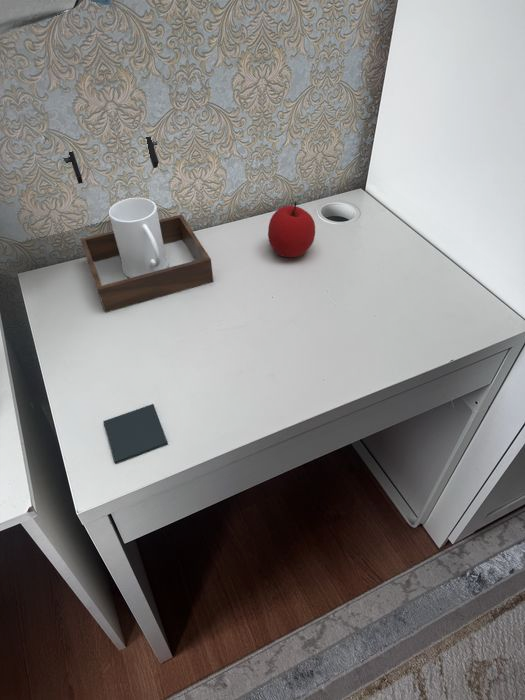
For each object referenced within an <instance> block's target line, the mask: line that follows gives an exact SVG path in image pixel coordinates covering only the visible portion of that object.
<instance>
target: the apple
mask: <svg viewBox="0 0 525 700" xmlns="http://www.w3.org/2000/svg"><path fill="white" fill-rule="evenodd" d="M315 236H316V224H315V220H314V218H313V217H312V215H311V214H310V213H309V212H308V211H306V210H305V209H304V208H301V207H300V206H297V202H296V201H294V205H287V206H286V205H285V206H283V207H280V208H278V209H277V210H276V211H275V212H274V213H273V214H272V216H271V218H270V219H269V224H268V231H267V238H268V242H269V244H270V246H271V248H272V249H273V250H274V251H275V253H277V254H278V255H279V256H281V257H284V258H298V257H300V256H302V255H304V254H305V253H306V252H307V251H308V250H309V249H310V248H311V247H312V245H313V243H314V241H315Z"/></svg>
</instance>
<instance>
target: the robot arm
mask: <svg viewBox="0 0 525 700" xmlns="http://www.w3.org/2000/svg"><path fill="white" fill-rule="evenodd" d="M82 1H83V0H0V38H2V37H5V36H7V35H10V34H12V33H15V32H17V31H20V30H23V29H26V28H28V27H30V26H33V25H37V24H38V23H42V22H44V21H45V20H46V19H49V18H52V17H54V16H57V15H60V14H62V13H65V12H67V11H69V10H71V9H73V8H75V7H76V6H78V5H79V4H80V3H81V2H82ZM91 1H93V2H96V3H99V4H101V5H109V4H110V3H111V1H112V0H91ZM146 139H147V144H148V149H149V153H148V155H149V154H150V156H149V159H150V162H151V164H152V168H153V169H157V168H158V167H159V162H160V161H159V158H158V155H157V152H156V149H155V148H154V145H157V146H158V143H159V142H158V141H156V142H154V141H153V142H152V140H151V137H146ZM69 155H70V157H68V158H63V157H62V160H63V159H64V160H63V162H64V161H65V162H66V163H68V162H72V164H71V166H72V165H73V166H72V169H73V172H74V175H75V177H76V180H77V184H79V185H80V184H83V183H84V182H83V177H82V173H81V170H80V168H79V164H78V162H77V159H76V157H75V153H74V150H73V151H72V152H69Z"/></svg>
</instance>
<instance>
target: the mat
mask: <svg viewBox="0 0 525 700" xmlns="http://www.w3.org/2000/svg"><path fill="white" fill-rule="evenodd" d="M102 421H103V426H104V429H105V433H106V437H107V439H108V443H109V447H110V451H111V454H112V458H113V461H114V464H116V465H117V464H120V463H122V462H125V461H127V460H130V459H132V458H135V457H138V456H140V455H144V454H146V453H148V452H152V451H154V450H156V449H159V448H163V447H164V446H167V445H169V443H168V442H169V441H168V439H167V437H166V434H165V431H164V429H163V426H162V424H161V421H160V418H159V415H158V412H157V410H156V407H155V405H154V403H151V404H149V405H146V406H143V407H140V408H136V409H133V410H131V411H129V412H125V413H123V414H120V415H117V416H113V417H111V418H108V419H106V420H102Z"/></svg>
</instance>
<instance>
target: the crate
mask: <svg viewBox="0 0 525 700" xmlns="http://www.w3.org/2000/svg"><path fill="white" fill-rule="evenodd" d="M159 223H160V229H161V234H162V239H163V245H166V244H169V243H174V242H177V241H183V242H184V244H185V246H186V247H187V249H188V250H189V252H190V254H191V256H192V257H193V258H194V260H192V261H188V262H185V263H181V264H177V265H173V266H170V267H169V266H168V267H167V268H166V269H162V270H158V271H155V272H151V273H147V274H143V275H140V276H136V277H132V278H129V277H128V278H126V279H122V280H118V281H114V282H110V283H106V284H102V281H101V279H100V277H99V274H98V271H97V268H96V266H95V262H98V261H102V260H106V259H107V260H108V259H110V258H115V257H118V256H120V254H119V250H118V246H117V242H116V239H115V235H114V231H113V230H112V231H106V232H102V233H99V234H94V235H89V236H87V237H86V236H85V237H82V238H80V239H79V240H80V243H81V245H82V248H83V251H84V255H85V258H86V261H87V263H88V264H87V265H88V266H89V269H90V272H91V276H92V278H93V281H94V285H95V286H96V290H97V292H98V295H99V298H100V301H101V304H102V307H103V310H104V312H105V313H108V312H111V311H116V310H119V309H122V308H127V307H129V306H133V305H136V304H140V303H144V302H147V301H150V300H154V299H157V298H161V297H164V296H168V295H171V294H175V293H179V292H183V291H186V290H189V289H193V288H197V287H200V286H203V285H208V284H211V283H213V282H214V275H213V266H212V258H211V257H210V255H209V254H208V252H207V251H206V249H205V248H204V246H203V245H202V243H201V242H200V240H199V239H198V237H197V236H196V234H195V232H194V231H193V230H192V228H191V227H190V225H189V223H188V222H187V221H186V219H185V218H184V216H183V214H178V215H173V216H171V217H166V218H161V219H159Z"/></svg>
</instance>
